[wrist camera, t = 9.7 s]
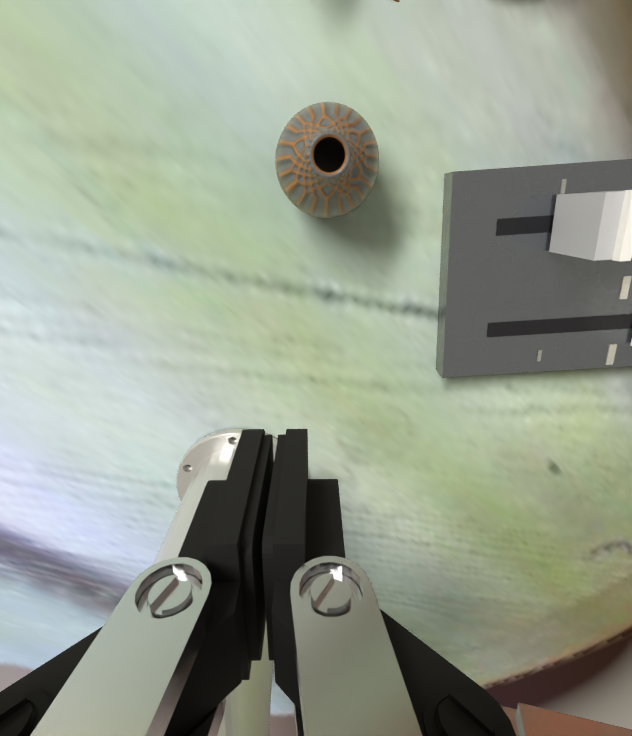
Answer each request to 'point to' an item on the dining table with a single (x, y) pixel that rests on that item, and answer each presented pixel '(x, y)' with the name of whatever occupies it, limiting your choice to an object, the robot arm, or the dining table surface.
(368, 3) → the dining table surface
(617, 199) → the grey fader
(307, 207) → the vase
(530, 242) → the console
